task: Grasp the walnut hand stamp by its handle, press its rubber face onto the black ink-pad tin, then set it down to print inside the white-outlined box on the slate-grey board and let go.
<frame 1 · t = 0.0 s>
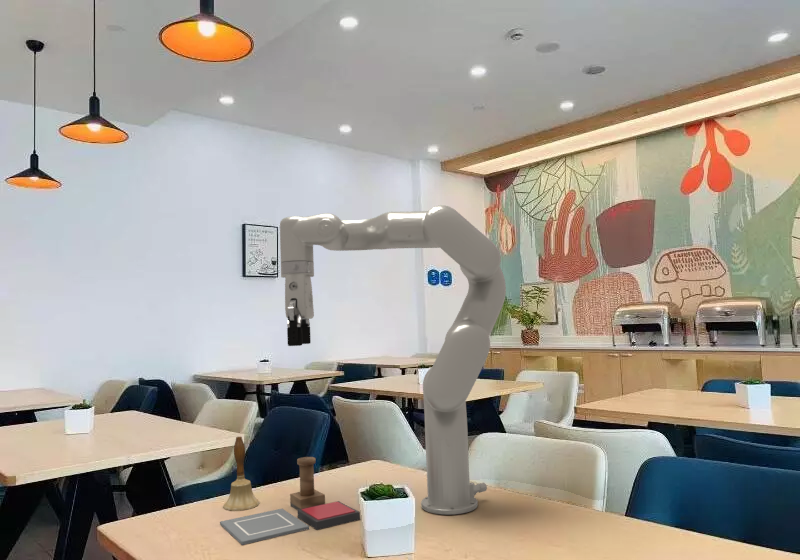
hand: (299, 344, 138), 37 cm above the table, tool pointing down, fingers open, 9 cm apart
stamp: (307, 506, 139), on the table
hand bell: (241, 506, 141), on the table
board: (263, 526, 126), on the table
ink pad: (328, 518, 129), on the table
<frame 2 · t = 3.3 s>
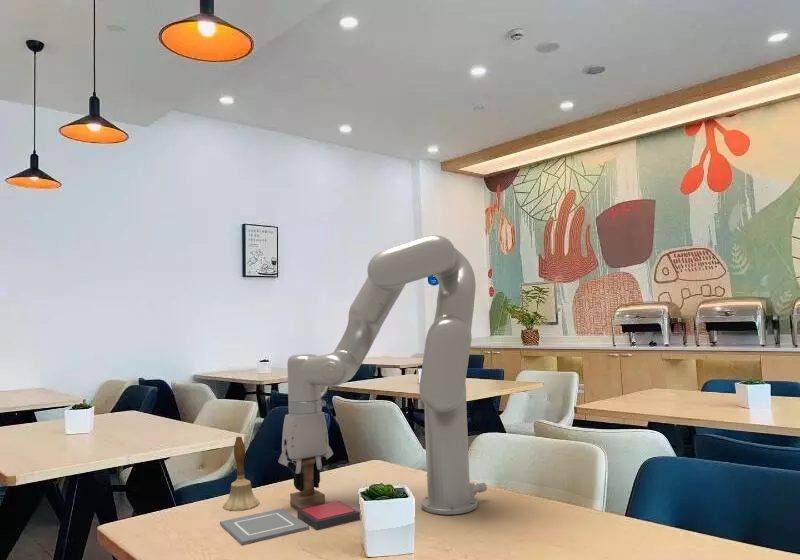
hand: (307, 487, 139), 4 cm above the table, tool pointing down, fingers closed on stamp, 3 cm apart
stamp: (307, 506, 139), on the table, touching gripper
everything else where it was.
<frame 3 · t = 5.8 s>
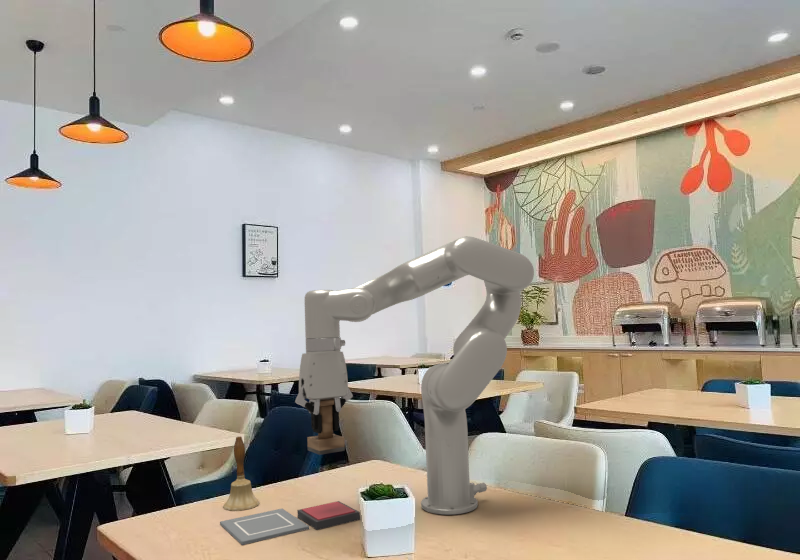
hand: (325, 430, 131), 19 cm above the table, tool pointing down, fingers closed on stamp, 3 cm apart
stamp: (326, 450, 130), point 14 cm above the table, touching gripper
everything else where it was.
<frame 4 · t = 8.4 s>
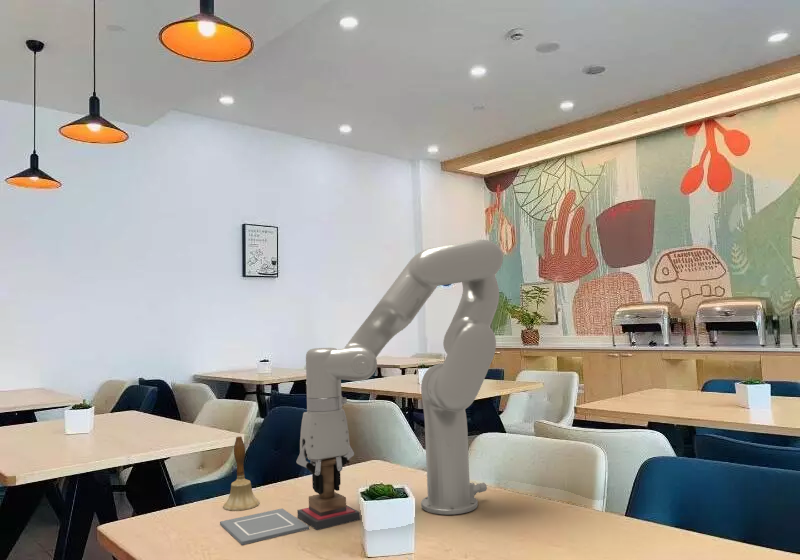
hand: (326, 490, 130), 6 cm above the table, tool pointing down, fingers closed on stamp, 3 cm apart
stamp: (327, 510, 129), point 2 cm above the table, touching gripper, ink pad
everything else where it was.
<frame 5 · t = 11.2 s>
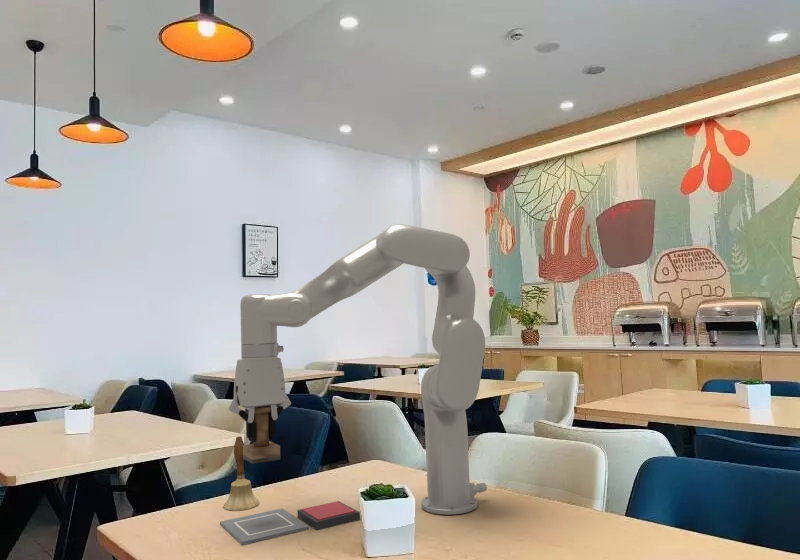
hand: (261, 438, 127), 18 cm above the table, tool pointing down, fingers closed on stamp, 3 cm apart
stamp: (261, 458, 127), point 14 cm above the table, touching gripper
everything else where it was.
when the fingers open (6 cm above the table, at t = 13.5 s): stamp stays where it is, resting on board.
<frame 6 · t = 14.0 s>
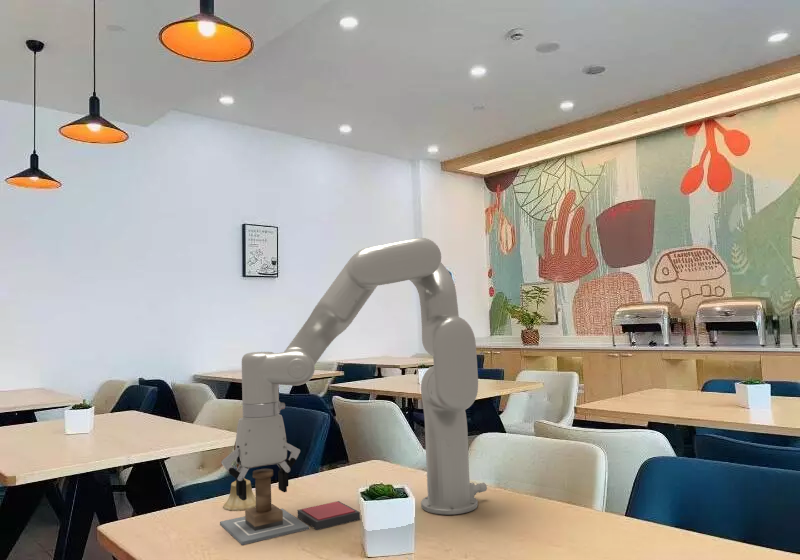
hand: (262, 494, 126), 7 cm above the table, tool pointing down, fingers open, 8 cm apart
stamp: (264, 523, 126), point 1 cm above the table, touching board
everything else where it was.
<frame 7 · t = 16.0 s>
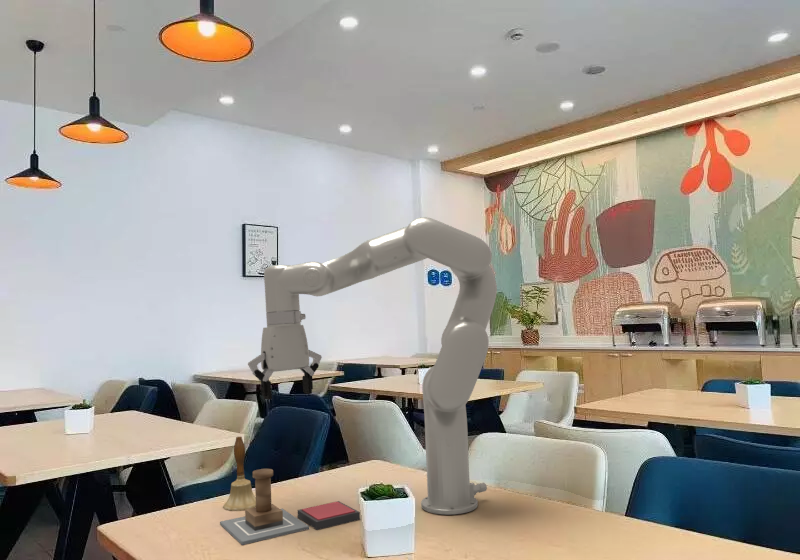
hand: (288, 396, 135), 26 cm above the table, tool pointing down, fingers open, 9 cm apart
nothing on the table moved.
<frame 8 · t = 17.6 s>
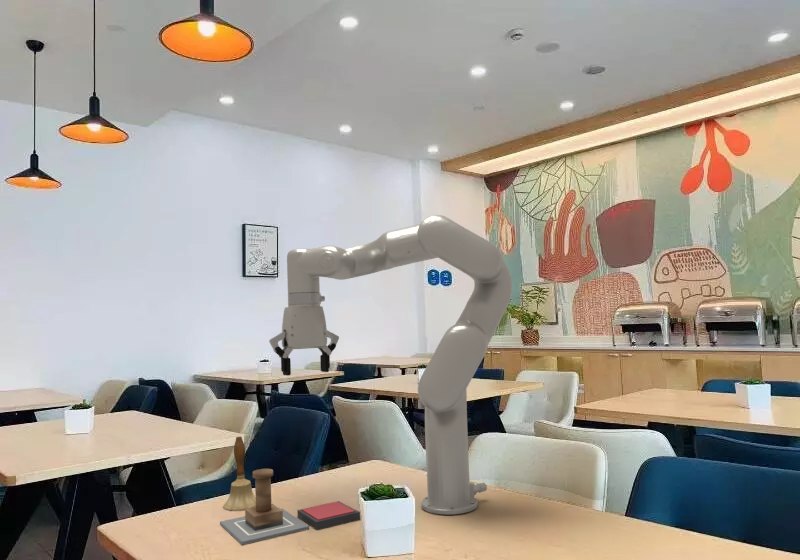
hand: (306, 373, 142), 30 cm above the table, tool pointing down, fingers open, 9 cm apart
nothing on the table moved.
at the end: stamp 0.1 cm off-centre on the board, point 0.6 cm above the board's base; stamp tilted 0°; the gripper is holding nothing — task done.
